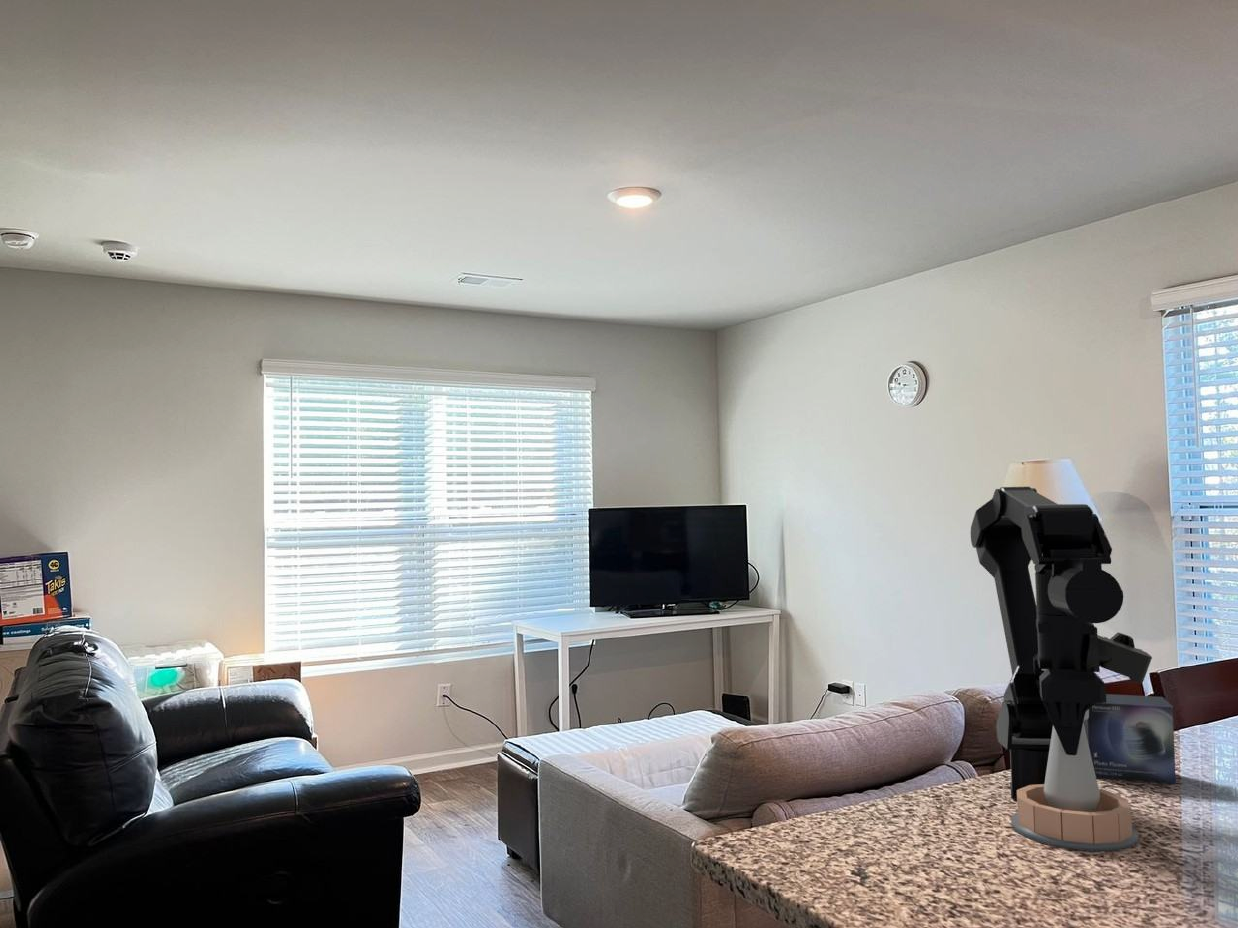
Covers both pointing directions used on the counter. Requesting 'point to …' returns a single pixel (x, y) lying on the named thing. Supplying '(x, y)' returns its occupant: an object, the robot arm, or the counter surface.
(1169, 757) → the small box
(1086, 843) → the socket
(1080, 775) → the salt shaker
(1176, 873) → the counter surface
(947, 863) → the counter surface
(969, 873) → the counter surface
